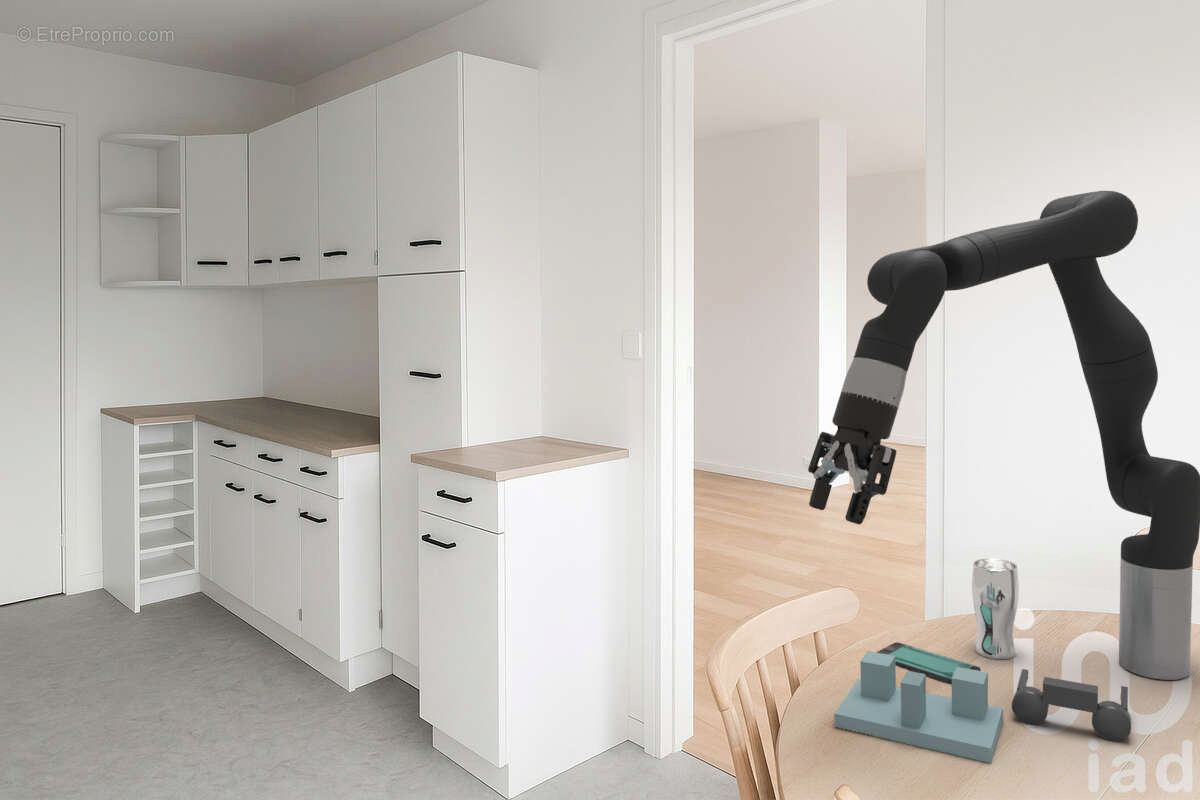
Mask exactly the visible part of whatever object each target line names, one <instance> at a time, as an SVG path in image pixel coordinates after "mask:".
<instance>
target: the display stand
mask: <svg viewBox="0 0 1200 800" xmlns="http://www.w3.org/2000/svg"><path fill="white" fill-rule="evenodd" d="M876 652H877V651H876ZM876 652H875V651H869V650H867V651H866V653H865V654H864V656H863V657H862V659H860V678H859V679H857V680H856V681H855V682H854V684H853V686H852V687H851V688H850V690H849V692H848V693H847V694H846V695H845V697H844V699H843V700H842V702H841V703H840V705H839V706H838V708H837V709H836V710H835V712H834V714H833V715H834V727H835V728H836V727H839V728H838V729H841V728H844V729H843V730H845V729H849V730H852V731H851V732H854V731H858V732H861V733H860V734H862V733H865V734H864V735H867V734H870V735H869V736H871V735H874V736H873V737H875V736H878V737H877V738H880V737H882V738H881V739H884V738H885V740H888V739H889V741H893V742H897V743H902V744H907V745H911V746H915V747H920V748H924V749H928V750H932V751H936V752H940V753H944V754H949V755H952V756H953V755H954V756H959V757H962V758H966V759H970V760H975V761H979V762H984V763H988V764H991V763H992V760H993V757H994V755H995V754H994V753H995V750H996V746H997V744H998V743H997V742H998V740H999V737H1000V733H1001V730H1002V727H1003V723H1004V707H1001V706H995V705H990V704H989V700H988V699H989V672H987V671H982V670H981V671H977V670H971V669H966V668H960V667H957V668H956V670H955V672H954V674H953V677H952V685H951V697H950V696H946V695H940V694H934V693H929V692H927V688H926V687H927V686H926V685H927V683H926V681H927V679H926V678H927V676H926V674H922V673H917V672H912V671H910V670H907V671H906V672H905V675H904V676H903V678H902V679H901V682H900V687H898V686H897V684H896V683H897V681H896V680H897V679H896V678H897V675H896V673H897V672H896V667H897V666H896V662H895V656H893V655H887V654H882V653H876ZM849 730H848V731H849ZM853 730H854V731H853ZM858 732H857V733H858Z"/></svg>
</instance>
